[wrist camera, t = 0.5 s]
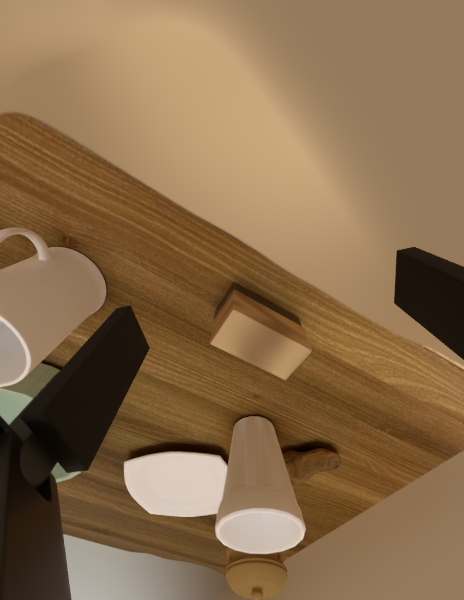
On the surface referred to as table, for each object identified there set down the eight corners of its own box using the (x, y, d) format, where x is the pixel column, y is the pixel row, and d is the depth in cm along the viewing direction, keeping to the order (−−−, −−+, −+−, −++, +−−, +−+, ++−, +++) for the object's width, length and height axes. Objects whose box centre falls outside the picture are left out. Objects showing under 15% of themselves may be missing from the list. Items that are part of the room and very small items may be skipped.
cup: (282, 400, 37) (302, 506, 25) (289, 444, 41) (309, 551, 30) (214, 409, 38) (204, 514, 26) (228, 451, 42) (225, 557, 31)
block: (214, 311, 31) (209, 344, 25) (234, 281, 29) (233, 309, 23) (276, 343, 33) (285, 380, 27) (298, 317, 31) (312, 350, 25)
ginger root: (276, 476, 45) (279, 500, 42) (280, 439, 41) (283, 462, 38) (332, 476, 45) (340, 500, 42) (342, 439, 41) (351, 463, 37)
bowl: (-58, 365, 35) (-105, 396, 30) (73, 347, 34) (45, 378, 29) (17, 452, 44) (-11, 488, 39) (125, 442, 42) (110, 478, 37)
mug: (25, 205, 26) (-127, 228, 15) (111, 229, 27) (26, 268, 16) (32, 305, 31) (-77, 376, 20) (104, 322, 32) (36, 399, 21)
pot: (230, 544, 57) (229, 613, 48) (222, 517, 52) (219, 589, 43) (283, 542, 56) (292, 612, 47) (280, 514, 51) (289, 587, 42)
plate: (114, 444, 42) (109, 456, 41) (230, 437, 41) (230, 449, 39) (146, 507, 51) (142, 519, 49) (242, 502, 49) (243, 515, 48)
